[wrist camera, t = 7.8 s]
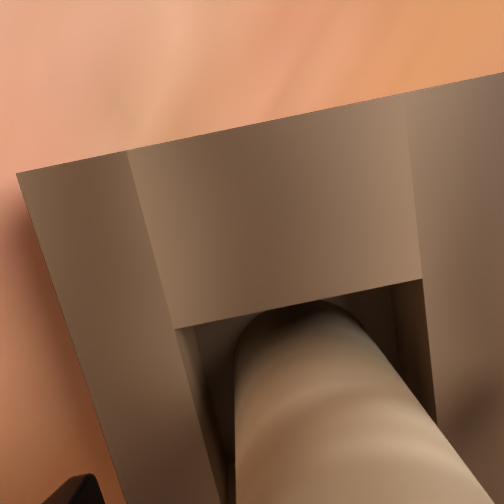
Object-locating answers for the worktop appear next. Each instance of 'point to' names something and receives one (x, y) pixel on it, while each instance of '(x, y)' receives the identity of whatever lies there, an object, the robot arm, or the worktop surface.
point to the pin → (334, 419)
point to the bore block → (283, 271)
